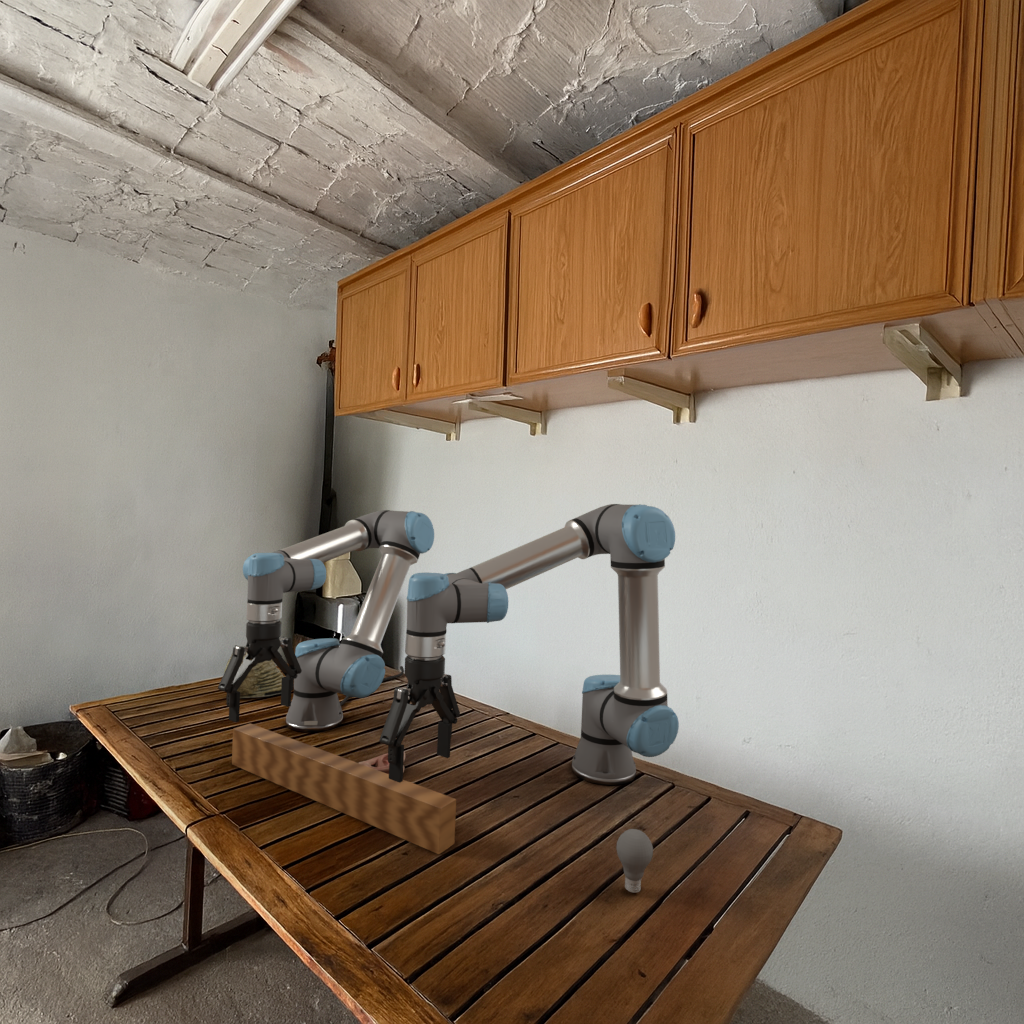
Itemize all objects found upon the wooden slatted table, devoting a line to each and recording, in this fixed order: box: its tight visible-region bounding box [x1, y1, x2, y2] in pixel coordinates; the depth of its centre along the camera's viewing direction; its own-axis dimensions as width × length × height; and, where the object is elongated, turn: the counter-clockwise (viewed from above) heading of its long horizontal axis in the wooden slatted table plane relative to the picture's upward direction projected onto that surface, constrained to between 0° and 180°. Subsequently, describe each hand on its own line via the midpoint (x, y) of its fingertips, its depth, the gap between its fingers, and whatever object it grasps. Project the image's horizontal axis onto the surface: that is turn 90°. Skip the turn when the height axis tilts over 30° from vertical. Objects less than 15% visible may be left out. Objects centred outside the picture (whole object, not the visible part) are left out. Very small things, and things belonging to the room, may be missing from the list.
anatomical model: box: [358, 751, 406, 774], centre depth 146 cm, size 13×4×12 cm
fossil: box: [223, 652, 285, 699], centre depth 198 cm, size 9×18×15 cm, turn 132°
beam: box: [231, 723, 457, 855], centre depth 133 cm, size 62×5×8 cm, turn 57°
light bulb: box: [615, 828, 654, 894], centre depth 106 cm, size 6×6×10 cm
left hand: (260, 712), depth 145 cm, fingers open, 13 cm apart
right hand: (420, 767), depth 120 cm, fingers open, 13 cm apart
